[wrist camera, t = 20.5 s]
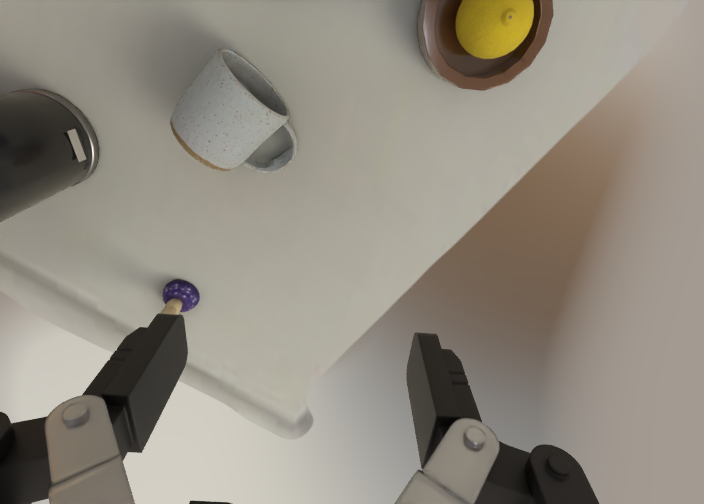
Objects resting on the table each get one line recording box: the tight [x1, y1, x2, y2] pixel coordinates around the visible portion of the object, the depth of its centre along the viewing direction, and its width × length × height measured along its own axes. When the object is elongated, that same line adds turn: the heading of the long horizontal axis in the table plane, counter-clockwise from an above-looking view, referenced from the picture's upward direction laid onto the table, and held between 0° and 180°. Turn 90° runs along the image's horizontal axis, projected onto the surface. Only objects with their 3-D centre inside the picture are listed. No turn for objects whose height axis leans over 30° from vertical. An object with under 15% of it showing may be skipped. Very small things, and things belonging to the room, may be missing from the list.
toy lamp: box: [161, 280, 199, 315], centre depth 42 cm, size 5×5×17 cm
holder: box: [417, 0, 553, 91], centre depth 34 cm, size 10×10×4 cm
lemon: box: [456, 0, 534, 59], centre depth 31 cm, size 6×6×8 cm
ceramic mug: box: [170, 49, 297, 173], centre depth 36 cm, size 11×8×8 cm
